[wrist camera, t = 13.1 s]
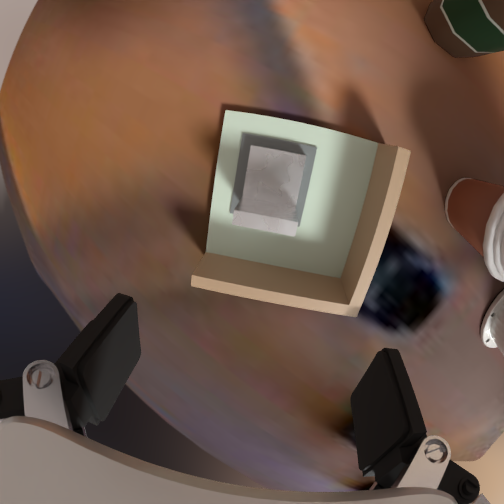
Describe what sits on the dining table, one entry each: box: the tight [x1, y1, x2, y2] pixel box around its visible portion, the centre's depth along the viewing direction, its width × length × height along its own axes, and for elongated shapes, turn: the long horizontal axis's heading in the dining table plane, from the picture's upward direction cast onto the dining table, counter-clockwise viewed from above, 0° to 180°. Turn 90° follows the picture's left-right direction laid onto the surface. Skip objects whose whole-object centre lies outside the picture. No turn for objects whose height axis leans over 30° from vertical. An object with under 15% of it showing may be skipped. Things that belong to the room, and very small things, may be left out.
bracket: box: [232, 145, 306, 237], centre depth 24 cm, size 6×5×6 cm
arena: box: [191, 110, 411, 317], centre depth 25 cm, size 16×16×6 cm
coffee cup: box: [445, 178, 504, 282], centre depth 20 cm, size 9×9×12 cm
